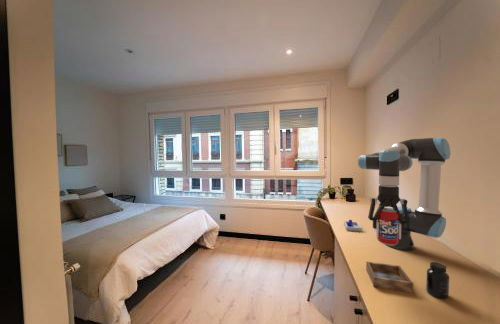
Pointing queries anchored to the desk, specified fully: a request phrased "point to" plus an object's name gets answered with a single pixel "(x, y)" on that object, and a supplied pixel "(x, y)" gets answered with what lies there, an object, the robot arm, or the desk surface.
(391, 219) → the soda can
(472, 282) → the desk surface
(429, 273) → the supplement bottle
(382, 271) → the walnut box
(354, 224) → the grey desk tray
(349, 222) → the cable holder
